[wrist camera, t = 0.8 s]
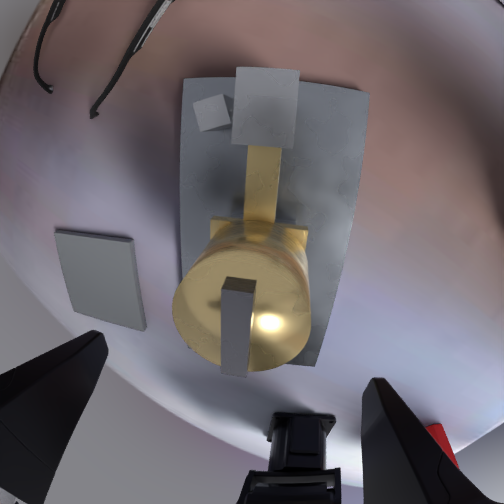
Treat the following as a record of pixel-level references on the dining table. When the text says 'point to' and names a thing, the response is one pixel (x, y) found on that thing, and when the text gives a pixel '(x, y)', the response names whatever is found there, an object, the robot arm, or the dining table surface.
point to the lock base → (291, 167)
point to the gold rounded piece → (248, 282)
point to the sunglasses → (135, 45)
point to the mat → (102, 277)
